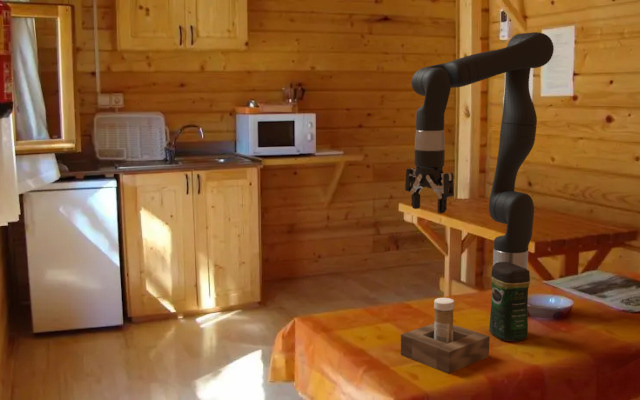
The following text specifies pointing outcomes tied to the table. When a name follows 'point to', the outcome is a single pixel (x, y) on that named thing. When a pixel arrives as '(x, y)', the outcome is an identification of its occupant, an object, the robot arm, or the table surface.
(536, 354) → the table surface
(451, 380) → the table surface
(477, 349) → the well block
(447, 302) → the sprinkles bottle
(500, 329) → the coffee jar
